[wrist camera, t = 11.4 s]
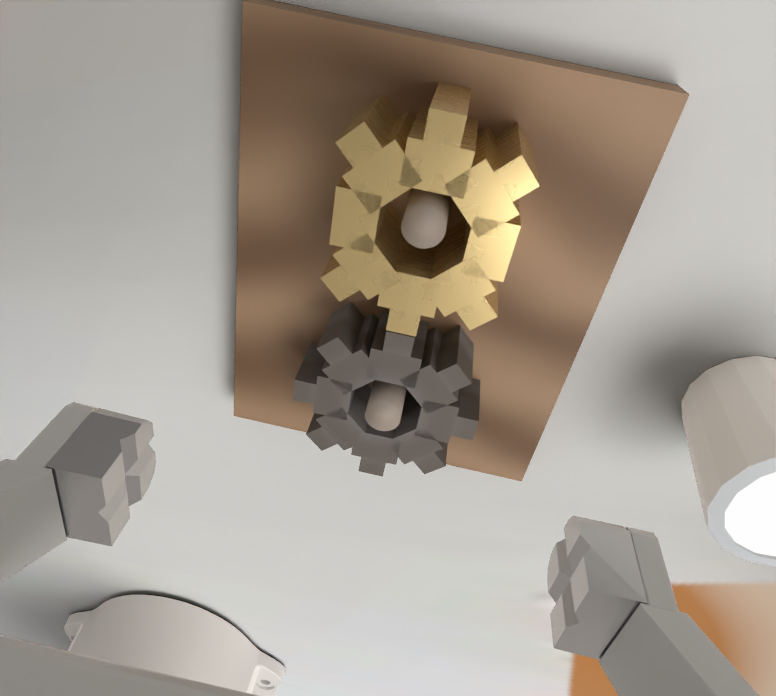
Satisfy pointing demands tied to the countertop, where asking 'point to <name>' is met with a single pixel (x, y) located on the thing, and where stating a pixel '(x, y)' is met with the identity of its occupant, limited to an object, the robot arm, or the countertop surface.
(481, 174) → the brass gear
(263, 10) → the gear board
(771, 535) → the white short cylinder
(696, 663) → the robot arm
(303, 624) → the countertop surface
